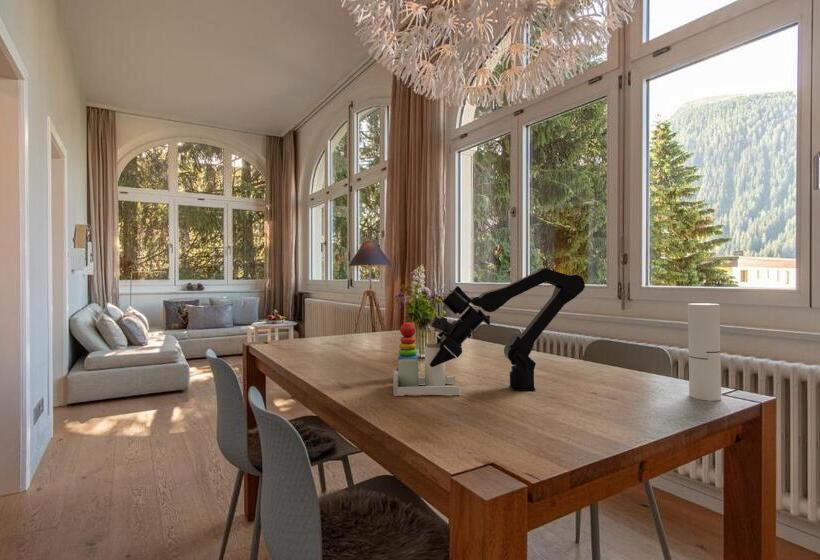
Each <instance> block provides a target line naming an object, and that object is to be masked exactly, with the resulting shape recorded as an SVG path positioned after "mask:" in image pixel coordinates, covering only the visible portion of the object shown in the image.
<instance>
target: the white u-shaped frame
mask: <svg viewBox="0 0 820 560" xmlns="http://www.w3.org/2000/svg"><path fill="white" fill-rule="evenodd" d="M392 379H393V380H392V384H393V385H392V387H393V388H392V389H393V390H392V391H393V392H392V393H393V395H397V394H454V395H460V396H461V386H459V385H458V386H457V385H445V386H414V387H399V386H398V384H399V377H398V371H396V370H394V371H393V378H392ZM424 383H425V376H420V377H419V384H424ZM445 383H455V384H456V376H455V375H447V376H446V375H445Z"/></svg>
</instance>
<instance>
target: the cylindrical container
mask: <svg viewBox="0 0 820 560" xmlns="http://www.w3.org/2000/svg"><path fill="white" fill-rule="evenodd" d="M720 305H721V304H719V303H708V302H707V303H703V302H702V303H701V302H699V303H697V302H695V303H687V328H688V329H687V332H688V334H687V335H688V337H687V339H688V341H687V343H688V344H687V345H688V390H689V391H688V392H689V393H688V394H689V395H688V396H689V397H691V399H692V398H693V399H696V400H703V401H711V402H712V401H713V402H716V401H720V400H721V399H722V375H721V374H722V370H721V369H722V368H721V367H722V366H721V364H722V363H721V362H722V361H721V360H722V359H721V357H722V356H721V309H720V308H721V307H720Z"/></svg>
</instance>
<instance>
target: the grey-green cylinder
mask: <svg viewBox="0 0 820 560" xmlns="http://www.w3.org/2000/svg"><path fill="white" fill-rule="evenodd" d="M418 363H419V359H400V360H398V361H397V368H398V375H399V386H398V387H414V386H419V374H420V373H419V372H420V369H418V368H419V365H418Z"/></svg>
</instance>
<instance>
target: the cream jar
mask: <svg viewBox="0 0 820 560" xmlns="http://www.w3.org/2000/svg"><path fill="white" fill-rule="evenodd" d="M439 349H440V343H437V342H427V343H426V345H424V377H425V386H446V385H445V376H446V362H444V363H441V364H439V365H437V366H434V367H431V366H430V363H431V361H432V360H433V358H434V357H435V355H436V354H437V353H438V351H439Z"/></svg>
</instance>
